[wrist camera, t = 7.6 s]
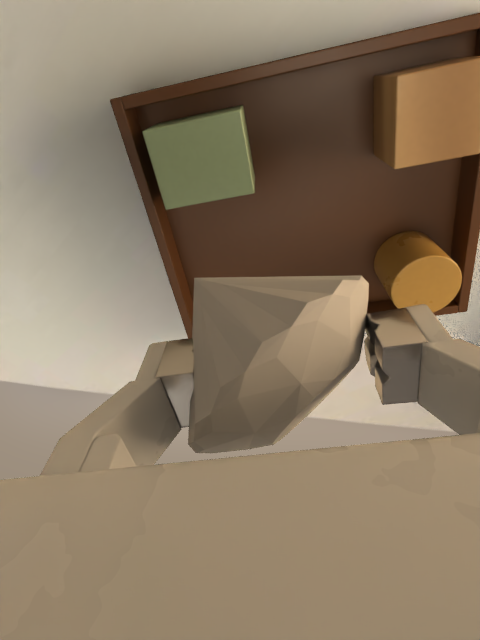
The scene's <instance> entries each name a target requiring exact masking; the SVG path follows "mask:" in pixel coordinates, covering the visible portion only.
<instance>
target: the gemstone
mask: <svg viewBox="0 0 480 640" xmlns="http://www.w3.org/2000/svg"><path fill="white" fill-rule="evenodd" d="M368 296H369V283H368V282H367V281H366V280H365V279H364V278H363V277H362V276H361V275H359V276H288V277H217V278H194V301H193V328H192V338H193V353H194V390H193V393H192V396H191V399H190V411H189V438H188V444H189V446H190V447H191V448H192V449H193V450H194V451H195V452H196V453H218V452H227V451H237V450H246V449H252V448H258V447H263V446H268V445H273V444H275V443H277V442H278V441H280V440H281V439H282V438H283V437H284V436H285V435H287V434H288V433H289V432H290V431H291V430H292V429H293V428H294V427H296V426H297V425H298V424H299V423H300V422H301V421H302V420H303V419H304V418H305V417H306V416H307V415H308V414H309V413H311V412H312V411H313V410H314V409H315V408H316V407H317V406H318V405H319V404H320V403H321V402H322V401H323V400H324V399H325V398H326V397H327V396H328V395H329V394H330V393H331V392H332V391H333V390H334V389H335V388H336V386H337V385H338V384H339V383H340V382H341V381H342V380H343V379H344V378H345V377H346V376H347V375H348V374H349V372H350V371H351V370H352V369H353V368H354V367H355V365H356V364H357V363H358V361H359V359H360V354H361V348H362V343H363V338H364V332H365V323H366V314H367V307H368Z"/></svg>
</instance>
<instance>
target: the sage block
mask: <svg viewBox="0 0 480 640" xmlns="http://www.w3.org/2000/svg"><path fill="white" fill-rule="evenodd" d="M143 136H144V139H145V143H146V146H147V149H148V153H149V156H150V159H151V163H152V166H153V169H154V173H155V176H156V179H157V182H158V186H159V189H160V192H161V196H162V199H163V202H164V206H165V209H166V210H168V209H174V208H179V207H184V206H190V205H195V204H200V203H206V202H211V201H216V200H222V199H227V198H232V197H238V196H243V195H248V194H253V193H255V174H254V168H253V162H252V156H251V150H250V144H249V137H248V131H247V125H246V119H245V113H244V107H243V105H238V106H234V107H229V108H225V109H220V110H216V111H211V112H207V113H202V114H198V115H193V116H189V117H184V118H179V119H175V120H170V121H166V122H161V123H158V124H156V125H154V126H152V127H150V128H148V129H146V130H144V131H143Z"/></svg>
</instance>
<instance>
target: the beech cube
mask: <svg viewBox="0 0 480 640" xmlns="http://www.w3.org/2000/svg"><path fill="white" fill-rule="evenodd" d="M479 153H480V56H472V57H460V58H451V59H446V60H442V61H437V62H433V63H428V64H424V65H419V66H415V67H410V68H406V69H401V70H396V71H392V72H387V73H383V74H378V75H375V76H374V156H376V157H377V158H379V159H380V160H382V161H383V162H385V163H386V164H387V165H389V166H390V167H392V168H393V169H401V168H406V167H412V166H417V165H422V164H428V163H433V162H438V161H444V160H449V159H454V158H460V157H465V156H470V155H476V154H479Z"/></svg>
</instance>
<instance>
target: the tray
mask: <svg viewBox="0 0 480 640" xmlns="http://www.w3.org/2000/svg"><path fill="white" fill-rule="evenodd" d="M472 56H480V13H476V14H472V15H468V16H463V17H459V18H455V19H451V20H446V21H442V22H438V23H434V24H429V25H425V26H421V27H417V28H412V29H408V30H404V31H399V32H395V33H391V34H387V35H382V36H378V37H374V38H370V39H365V40H361V41H357V42H353V43H348V44H344V45H340V46H336V47H331V48H327V49H323V50H318V51H314V52H310V53H306V54H301V55H297V56H293V57H289V58H284V59H280V60H276V61H272V62H267V63H263V64H259V65H255V66H250V67H246V68H242V69H237V70H233V71H229V72H225V73H220V74H216V75H212V76H208V77H203V78H199V79H195V80H191V81H186V82H182V83H178V84H174V85H169V86H165V87H161V88H156V89H152V90H148V91H144V92H139V93H135V94H131V95H127V96H122V97H118V98H114V99H111V100H110V102H111V105H112V108H113V111H114V115H115V118H116V121H117V124H118V127H119V130H120V133H121V136H122V139H123V142H124V145H125V148H126V151H127V154H128V157H129V160H130V163H131V166H132V169H133V172H134V175H135V178H136V181H137V184H138V187H139V190H140V193H141V196H142V199H143V202H144V205H145V208H146V211H147V215H148V218H149V221H150V224H151V227H152V230H153V233H154V236H155V239H156V242H157V245H158V248H159V251H160V254H161V257H162V260H163V263H164V266H165V269H166V272H167V275H168V278H169V281H170V284H171V287H172V290H173V293H174V296H175V299H176V302H177V305H178V308H179V312H180V315H181V318H182V321H183V324H184V327H185V330H186V333H187V336H188V339H189V338H192V328H193V301H194V278H217V277H288V276H359V275H361V276H362V277H363V278H364V279H365V280H366V281H367V282H368V283H369V296H368V307H367V314H368V313H374V312H380V311H387V310H393V309H398V308H397V307H396V306H395V305H394V303H393V301H392V300H391V298H390V296H389V295H388V293H387V291H386V290H385V288H384V286H383V285H382V283H381V281H380V280H379V278H378V276H377V275H376V272H375V269H374V260H375V256H376V253H377V251H378V250H379V248H380V247H381V245H382V244H383V243H384V242H385V241H386V240H388V239H389V238H390V237H392V236H394V235H396V234H399V233H402V232H407V231H416V232H420V233H423V234H425V235H427V236H428V237H429V238H430V239H431V240H432V241H433V242H434V243H435V244H437V245H438V246H439V247H440V248H441V249H442V250H443V251H444V252H445V253H446V254H447V255H448V256H449V257H450V258H451V259H452V260H453V261H454V262H455V263H457V265H458V266H459V268H460V270H461V274H462V282H461V287H460V289H459V291H458V293H457V295H456V296H455V298H454V299H453V300H452V301H451V302H450V303H449V304H448V305H446V306H445V307H443V308H442V309H440V310H438V311H436V312H433V314H434V315H435V316H436V315H444V314H451V313H457V312H466V311H467V308H468V301H469V295H470V288H471V282H472V276H473V269H474V263H475V256H476V250H477V244H478V237H479V231H480V153H479V154H476V155H470V156H465V157H460V158H454V159H449V160H444V161H438V162H433V163H428V164H422V165H417V166H412V167H406V168H401V169H393V168H392V167H390V166H389V165H387V164H386V163H385V162H383V161H382V160H380V159H379V158H377V157H376V156H374V76H375V75H378V74H383V73H387V72H392V71H396V70H401V69H406V68H410V67H415V66H419V65H424V64H428V63H433V62H437V61H442V60H446V59H451V58H460V57H472ZM238 105H243V107H244V113H245V119H246V125H247V131H248V137H249V144H250V150H251V156H252V162H253V168H254V174H255V193H253V194H248V195H243V196H238V197H232V198H227V199H222V200H216V201H211V202H206V203H200V204H195V205H190V206H184V207H179V208H174V209H168V210H166V209H165V206H164V202H163V199H162V196H161V192H160V189H159V186H158V182H157V179H156V176H155V173H154V169H153V166H152V163H151V159H150V156H149V153H148V149H147V146H146V143H145V139H144V136H143V131H144V130H146V129H148V128H150V127H152V126H154V125H156V124H158V123H161V122H166V121H170V120H175V119H179V118H184V117H189V116H193V115H198V114H202V113H207V112H211V111H216V110H220V109H225V108H229V107H234V106H238Z"/></svg>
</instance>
